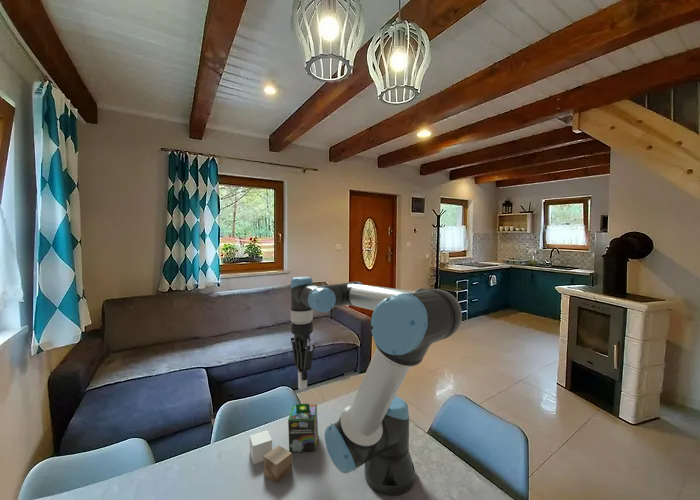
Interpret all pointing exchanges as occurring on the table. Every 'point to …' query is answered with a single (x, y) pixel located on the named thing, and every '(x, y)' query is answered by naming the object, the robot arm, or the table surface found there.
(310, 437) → the chalk box
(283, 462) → the walnut block
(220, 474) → the table surface
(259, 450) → the white cube
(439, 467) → the table surface
